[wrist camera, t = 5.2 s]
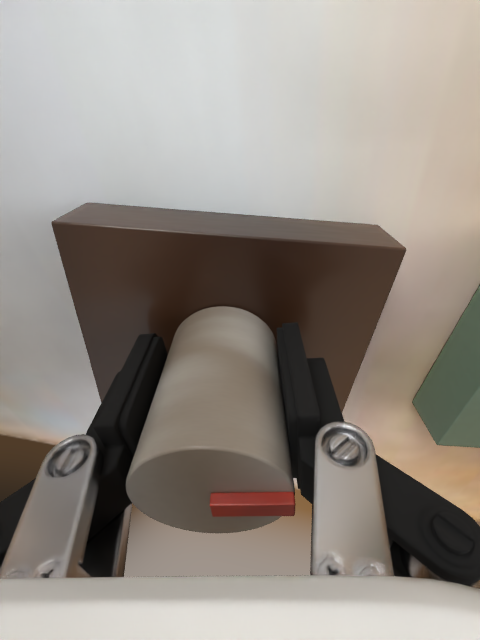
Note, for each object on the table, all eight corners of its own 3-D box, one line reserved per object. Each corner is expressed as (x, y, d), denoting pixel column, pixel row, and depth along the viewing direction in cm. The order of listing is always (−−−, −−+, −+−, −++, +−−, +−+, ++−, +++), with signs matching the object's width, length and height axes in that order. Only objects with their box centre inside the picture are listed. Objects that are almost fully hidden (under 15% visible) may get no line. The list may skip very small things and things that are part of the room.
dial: (183, 387, 13) (145, 547, 8) (163, 308, 11) (94, 464, 6) (276, 384, 13) (294, 547, 8) (276, 302, 10) (300, 459, 6)
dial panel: (122, 376, 16) (104, 414, 14) (86, 202, 11) (49, 221, 9) (324, 389, 16) (335, 429, 14) (379, 224, 11) (407, 248, 9)
